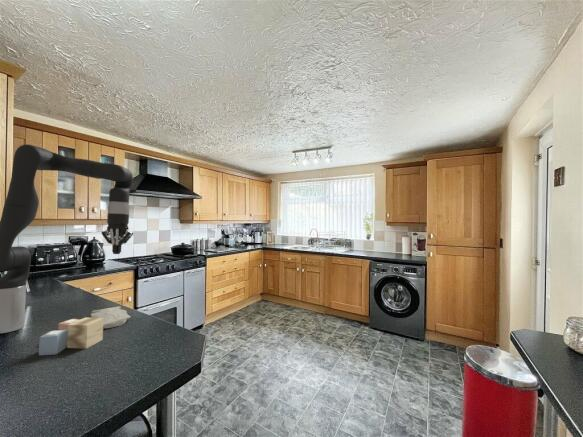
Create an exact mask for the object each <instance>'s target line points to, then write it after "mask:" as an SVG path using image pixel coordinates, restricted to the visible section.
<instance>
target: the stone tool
mask: <svg viewBox="0 0 583 437" xmlns="http://www.w3.org/2000/svg"><path fill="white" fill-rule="evenodd" d="M90 318H103V329H111V328H116V327H121V326H123V325H125V323H126V322H127V321H128V320H129V319H130V318H131V315H129V314H128V312H127V310H125V309H122V306H113V307H107V308H103V309H102V308H101V309H95V310H92V311H91V313H90Z"/></svg>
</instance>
